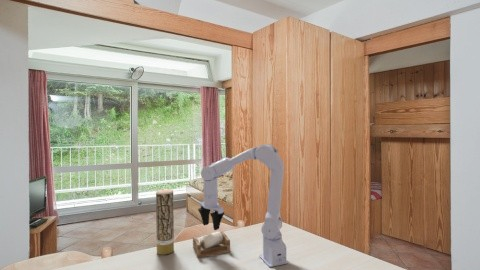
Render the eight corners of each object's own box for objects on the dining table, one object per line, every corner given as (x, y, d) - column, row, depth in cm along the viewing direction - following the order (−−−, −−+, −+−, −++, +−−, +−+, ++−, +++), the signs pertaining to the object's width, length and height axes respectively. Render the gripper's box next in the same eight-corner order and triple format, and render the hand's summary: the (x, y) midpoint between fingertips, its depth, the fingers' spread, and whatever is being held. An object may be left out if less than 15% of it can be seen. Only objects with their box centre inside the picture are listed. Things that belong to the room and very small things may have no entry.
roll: (222, 245, 110) (223, 234, 109) (205, 251, 104) (206, 239, 103) (215, 240, 113) (216, 229, 113) (199, 245, 108) (200, 234, 107)
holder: (230, 252, 106) (230, 240, 106) (197, 258, 101) (197, 245, 101) (223, 242, 115) (223, 231, 115) (192, 247, 111) (192, 236, 111)
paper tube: (169, 256, 103) (168, 193, 103) (153, 254, 104) (152, 192, 104) (176, 248, 110) (176, 189, 110) (161, 247, 111) (161, 189, 111)
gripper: (229, 195, 105) (229, 229, 105) (208, 190, 116) (209, 220, 116) (214, 198, 101) (215, 233, 101) (195, 192, 112) (195, 224, 112)
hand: (211, 227), depth 108 cm, fingers open, 7 cm apart
